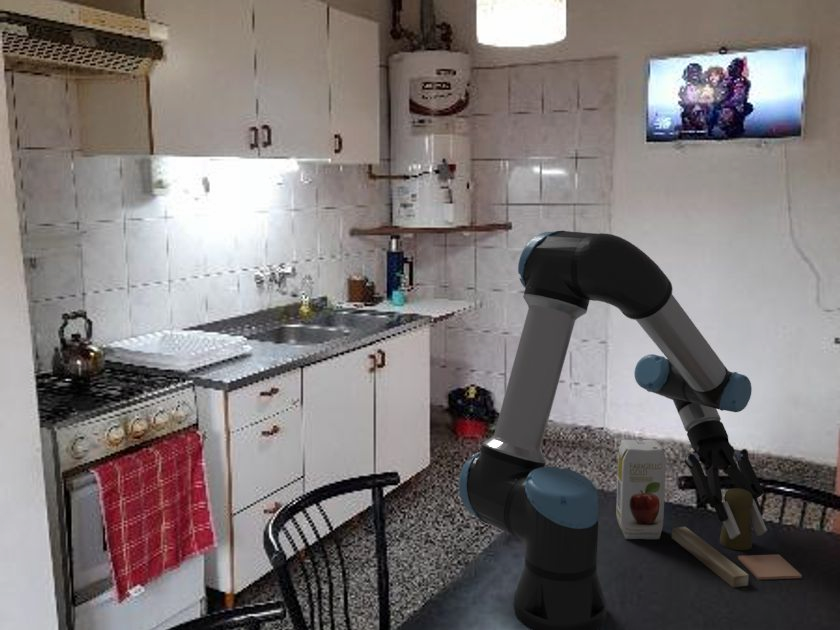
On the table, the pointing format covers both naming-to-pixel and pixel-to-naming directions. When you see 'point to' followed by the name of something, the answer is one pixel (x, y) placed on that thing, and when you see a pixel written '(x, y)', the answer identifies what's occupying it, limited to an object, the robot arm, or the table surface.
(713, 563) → the straightedge
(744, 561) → the end plate
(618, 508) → the juice carton
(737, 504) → the olive domed peg
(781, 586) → the table surface
